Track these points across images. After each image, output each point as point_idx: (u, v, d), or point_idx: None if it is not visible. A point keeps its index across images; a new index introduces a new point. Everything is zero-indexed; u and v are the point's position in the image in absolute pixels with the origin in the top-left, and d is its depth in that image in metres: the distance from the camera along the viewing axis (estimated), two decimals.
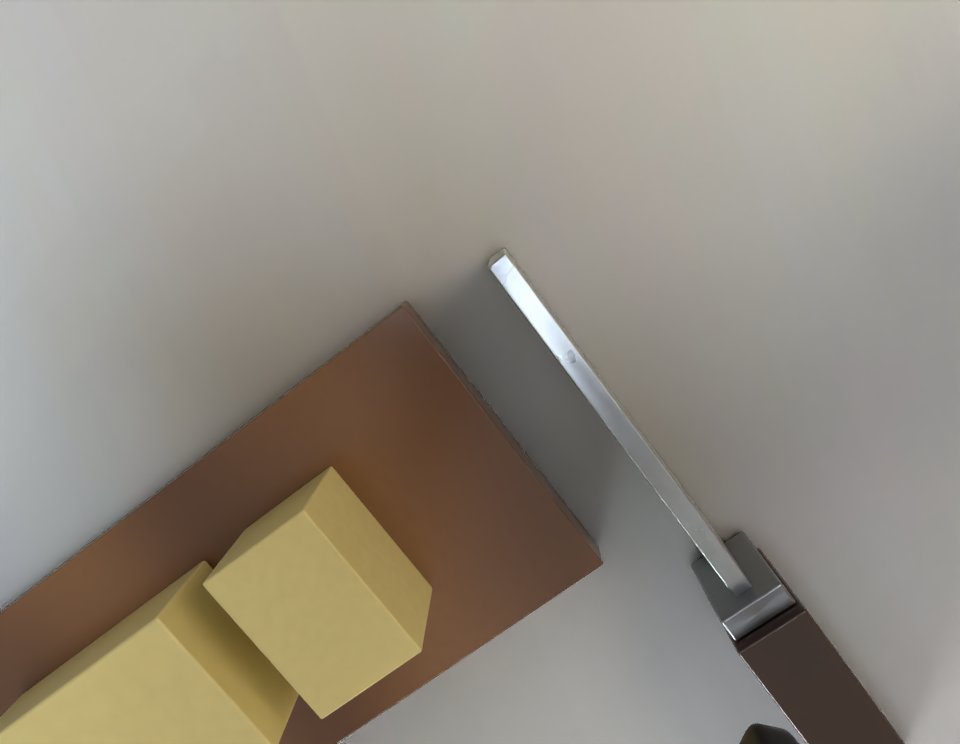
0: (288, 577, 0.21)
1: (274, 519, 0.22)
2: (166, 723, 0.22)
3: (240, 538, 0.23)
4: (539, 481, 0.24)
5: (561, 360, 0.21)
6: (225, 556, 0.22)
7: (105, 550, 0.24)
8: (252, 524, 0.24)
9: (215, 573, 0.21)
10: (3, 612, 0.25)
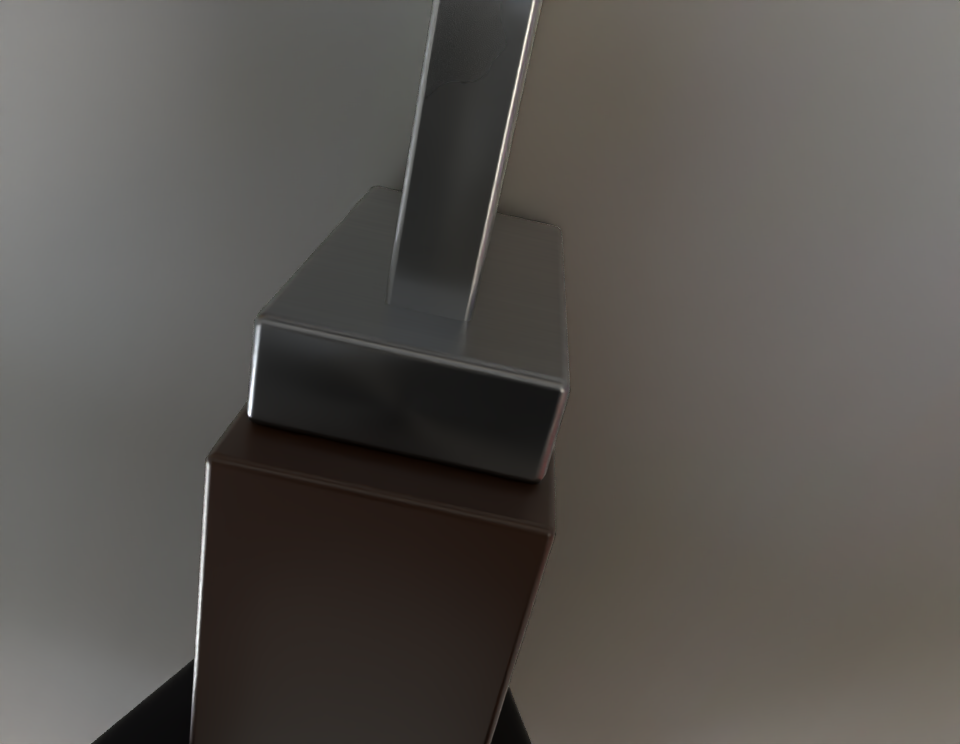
0: None
1: None
2: None
3: None
4: None
5: None
6: None
7: None
8: None
9: None
10: None
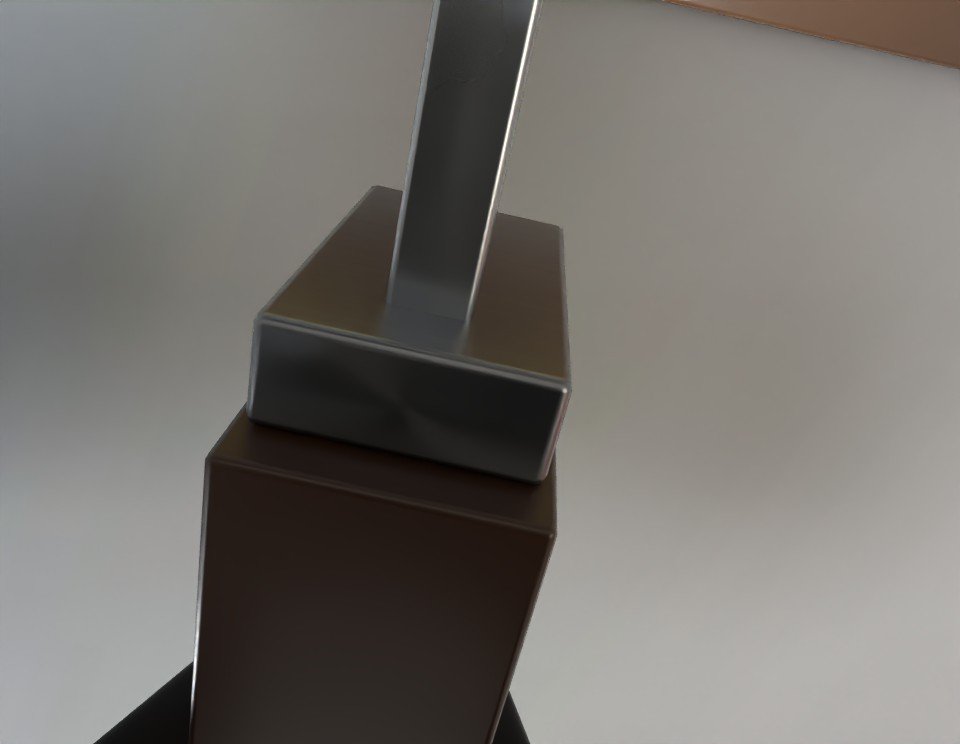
0: None
1: None
2: None
3: None
4: None
5: None
6: None
7: None
8: None
9: None
10: None
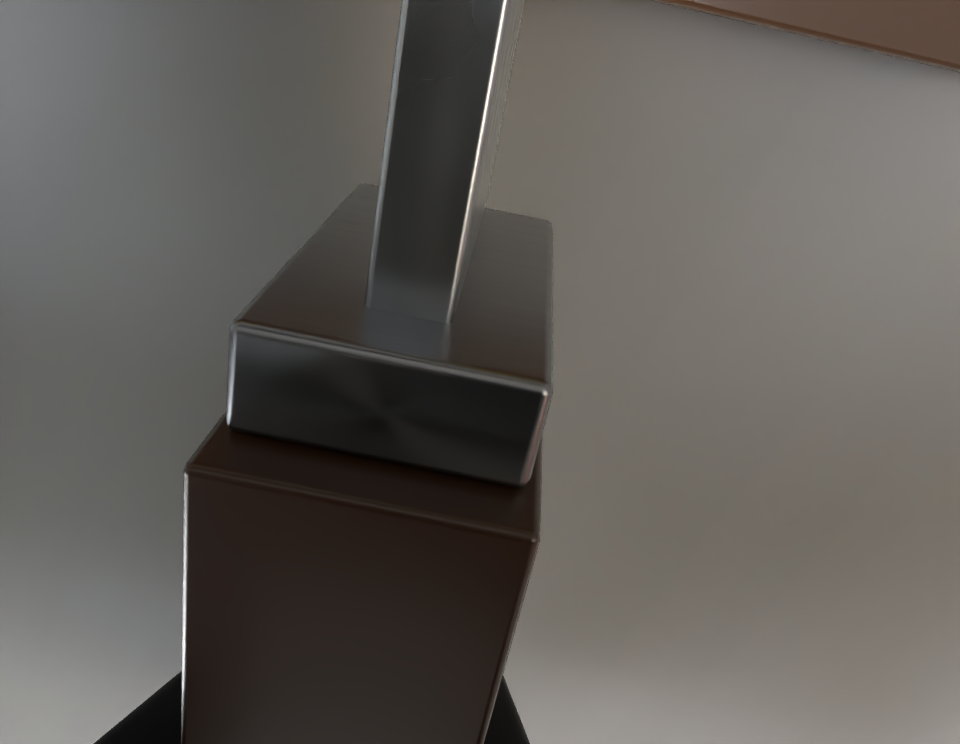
0: None
1: None
2: None
3: None
4: None
5: None
6: None
7: None
8: None
9: None
10: None
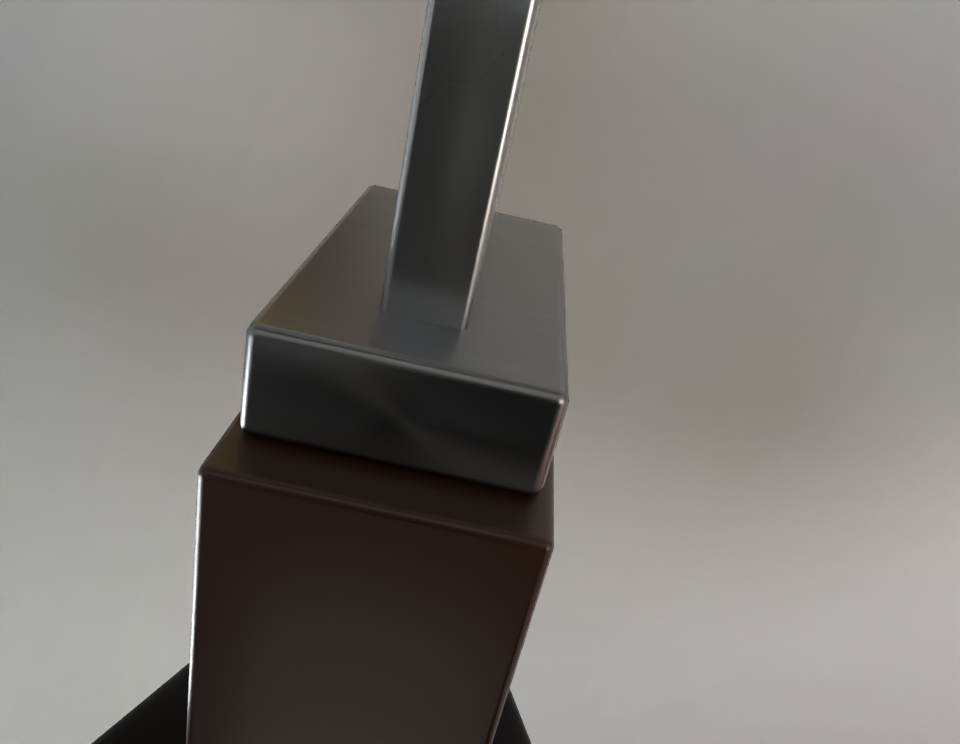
0: None
1: None
2: None
3: None
4: None
5: None
6: None
7: None
8: None
9: None
10: None
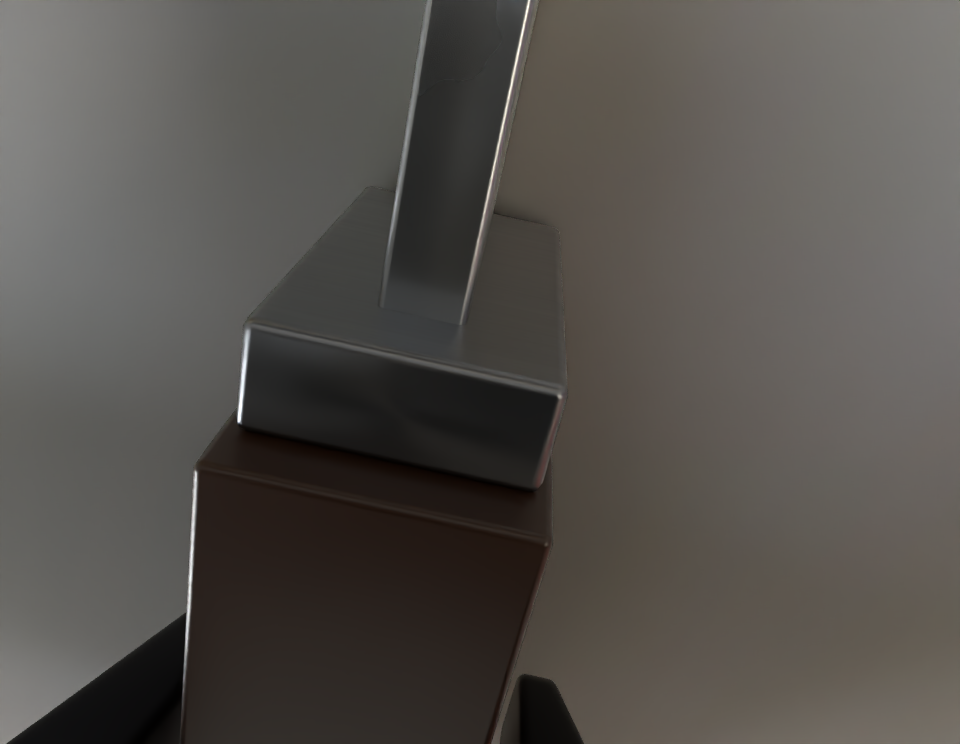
0: None
1: None
2: None
3: None
4: None
5: None
6: None
7: None
8: None
9: None
10: None
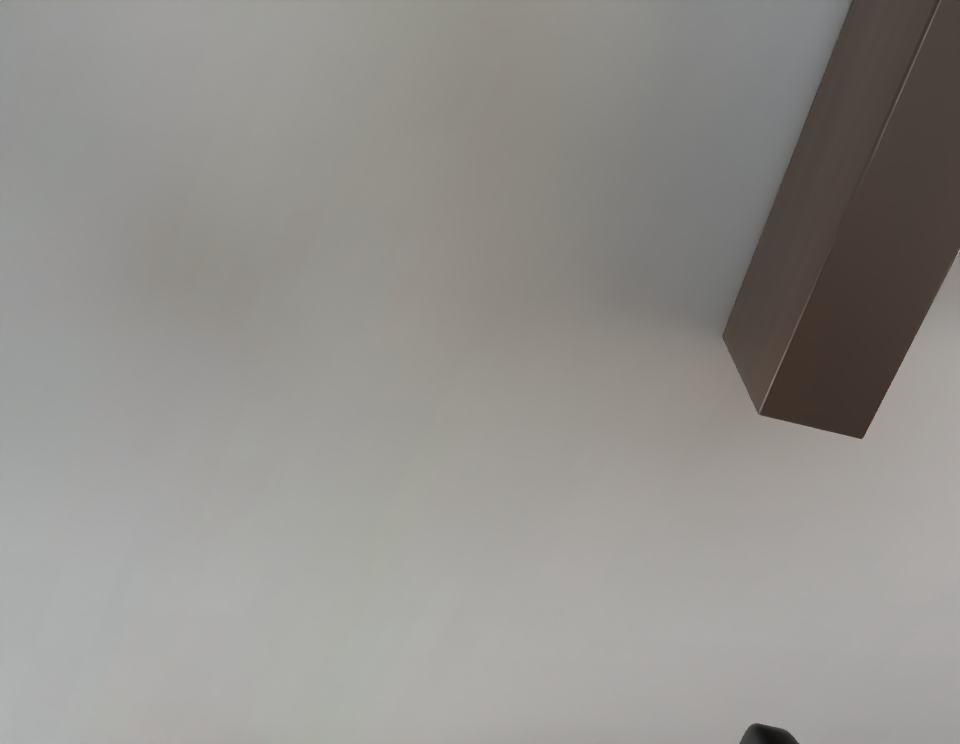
0: None
1: None
2: None
3: None
4: None
5: None
6: None
7: None
8: None
9: None
10: None
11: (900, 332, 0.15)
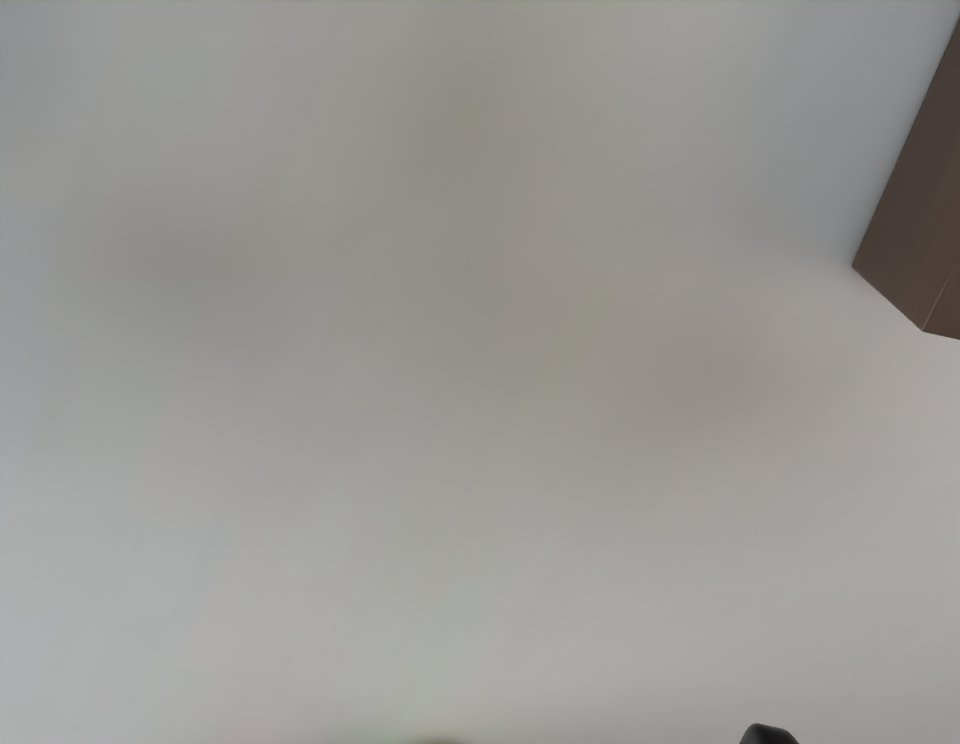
0: None
1: None
2: None
3: None
4: None
5: None
6: None
7: None
8: None
9: None
10: None
11: None
